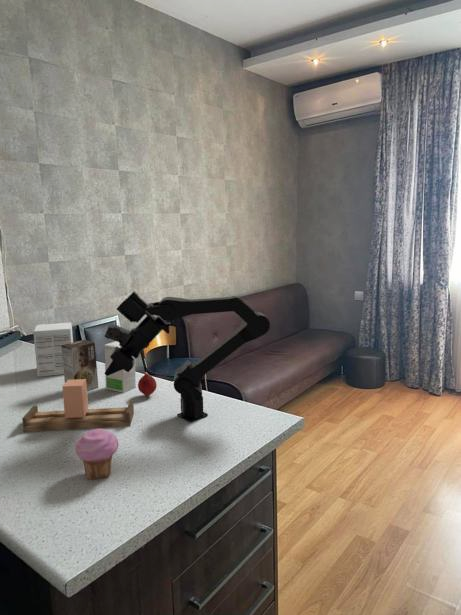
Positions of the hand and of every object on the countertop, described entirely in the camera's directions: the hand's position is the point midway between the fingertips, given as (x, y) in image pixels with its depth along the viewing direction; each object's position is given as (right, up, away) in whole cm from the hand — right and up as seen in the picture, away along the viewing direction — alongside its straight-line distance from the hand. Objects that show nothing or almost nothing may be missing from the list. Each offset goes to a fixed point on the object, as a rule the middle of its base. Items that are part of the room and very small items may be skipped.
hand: (105, 374), depth 124 cm
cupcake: (+6, -18, -26) cm, 32 cm away
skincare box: (-3, -9, +29) cm, 30 cm away
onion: (+8, -10, +21) cm, 25 cm away
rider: (-8, -12, +1) cm, 14 cm away
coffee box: (-16, -10, +29) cm, 34 cm away
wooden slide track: (-7, -14, +2) cm, 15 cm away
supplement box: (-33, -6, +51) cm, 61 cm away
